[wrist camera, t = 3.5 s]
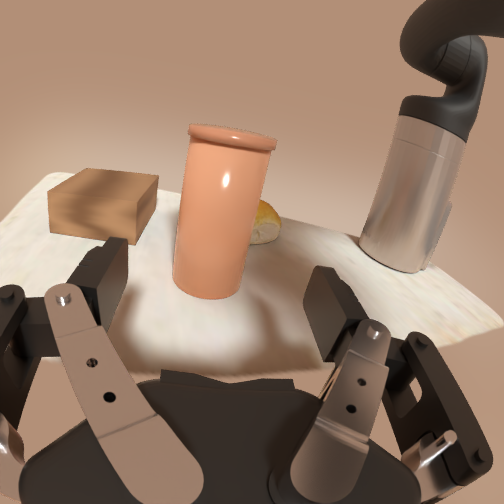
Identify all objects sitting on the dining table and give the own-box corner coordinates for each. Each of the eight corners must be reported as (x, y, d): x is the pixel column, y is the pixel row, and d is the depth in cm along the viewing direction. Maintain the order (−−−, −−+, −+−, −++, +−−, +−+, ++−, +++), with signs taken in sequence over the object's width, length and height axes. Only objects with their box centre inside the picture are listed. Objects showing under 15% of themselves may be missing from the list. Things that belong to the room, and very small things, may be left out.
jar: (240, 264, 25) (269, 135, 20) (245, 305, 20) (285, 145, 15) (175, 255, 24) (193, 121, 19) (164, 295, 19) (184, 127, 14)
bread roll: (241, 211, 38) (248, 181, 36) (288, 242, 32) (298, 208, 30) (184, 214, 33) (189, 181, 31) (226, 252, 27) (234, 211, 25)
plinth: (155, 209, 32) (158, 175, 30) (135, 245, 24) (137, 201, 22) (85, 200, 30) (86, 168, 28) (50, 232, 22) (47, 191, 20)
